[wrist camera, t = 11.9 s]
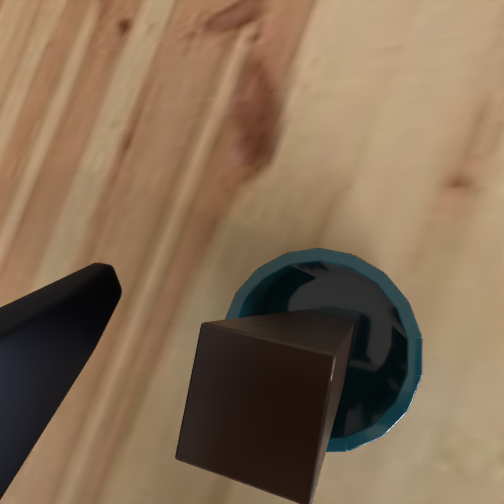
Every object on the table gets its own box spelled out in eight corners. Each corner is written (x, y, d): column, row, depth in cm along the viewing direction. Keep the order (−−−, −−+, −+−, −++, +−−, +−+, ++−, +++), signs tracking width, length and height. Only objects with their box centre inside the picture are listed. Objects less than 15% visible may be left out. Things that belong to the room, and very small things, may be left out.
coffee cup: (422, 410, 18) (442, 450, 13) (263, 417, 20) (231, 454, 15) (394, 251, 19) (403, 234, 14) (247, 272, 21) (212, 263, 16)
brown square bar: (347, 369, 18) (310, 509, 6) (298, 357, 19) (172, 460, 7) (356, 319, 19) (337, 353, 6) (307, 308, 19) (200, 321, 7)
